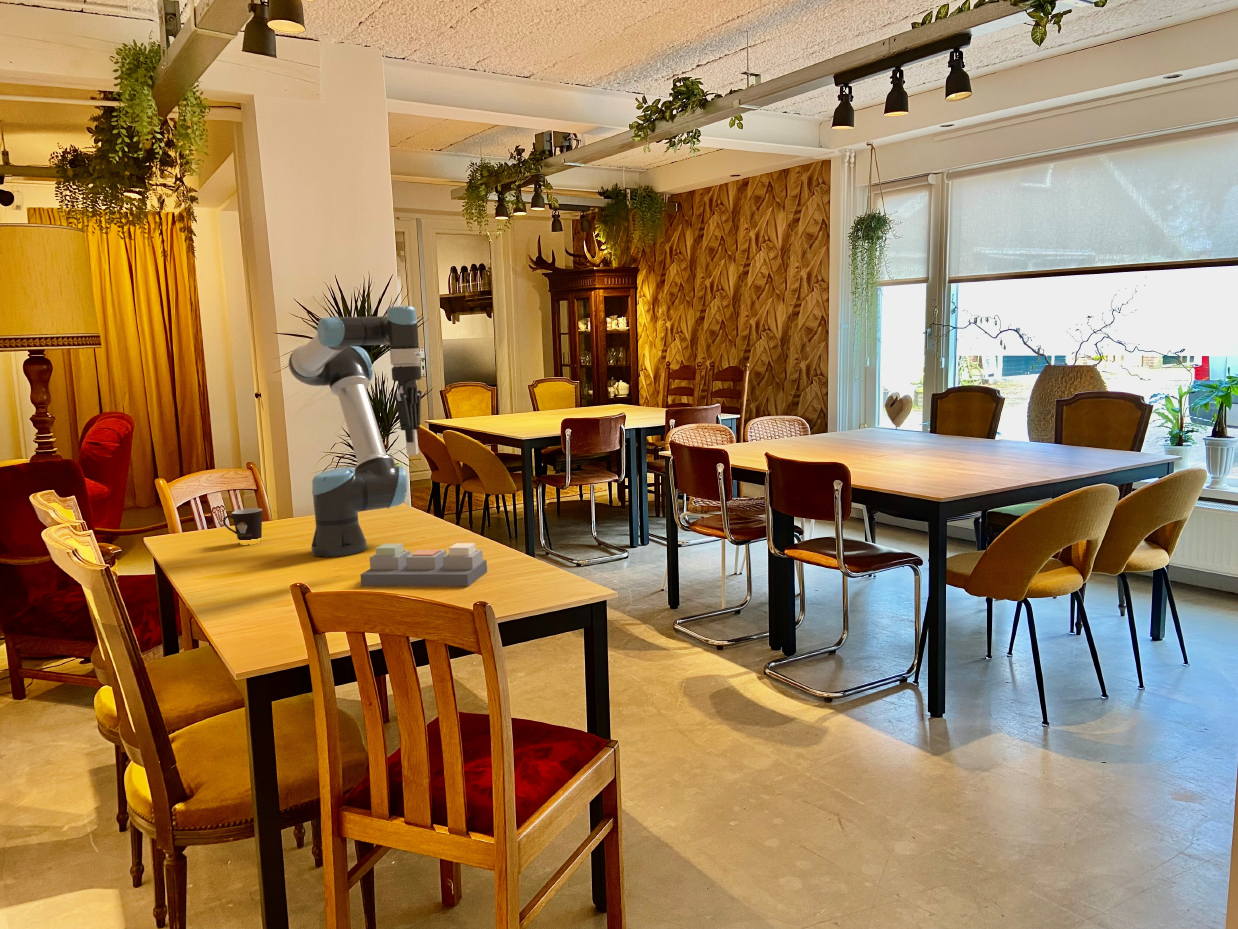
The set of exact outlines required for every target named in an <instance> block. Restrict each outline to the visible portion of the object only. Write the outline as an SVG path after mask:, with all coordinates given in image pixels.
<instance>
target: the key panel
mask: <svg viewBox="0 0 1238 929" xmlns="http://www.w3.org/2000/svg"><path fill="white" fill-rule="evenodd" d="M419 550H420V549H417V550H416V551H414V552H412V553H411V550H410V549H409V550H408V549H406V550H405V549H404V552H403V553H401V554H400V555H398V556H392V557H376V553H375V554H373V555H371V556H369V565H370V568H369V569H368V570H366V571H364V572H362V573H360V575H359V576H360V585H361V587H384V588H385V587H386V588H387V587H391V588H394V587H397V588H398V587H401V588H403V587H411V588H412V587H413V588H415V587H416V588H417V587H418V588H419V587H420V588H421V587H423V588H424V587H425V588H428V587H429V588H430V587H432V588H434V587H435V588H436V587H437V588H438V587H441V588H443V587H444V588H445V587H448V588H449V587H451V588H452V587H453V588H454V587H455V588H456V587H457V588H458V587H459V588H461V587H462V588H468V587H470V586H471V585H473V584H474V583H475V582H477V581H478V580H479V579H480V578H481V577H483V576H484V575H485V574H486V573H488V563H487V559H484V557H483V556H484V555H483V554H484V553H483V549H476V552H475V553H474V554H473V555H471V556H449V552H448V553H447V550H446V549H439V550H440V552H439V553H437V554H436V555H434V556H412V555H413V554H414V553H416V552H418V551H419Z"/></svg>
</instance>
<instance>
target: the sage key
mask: <svg viewBox="0 0 1238 929" xmlns="http://www.w3.org/2000/svg"><path fill="white" fill-rule="evenodd" d="M404 550H405V549H404V543H383V544H382V545H379V546H378V547H375V554H376V557H392V556H398V555H400V554H401V553H403V552H404Z"/></svg>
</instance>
